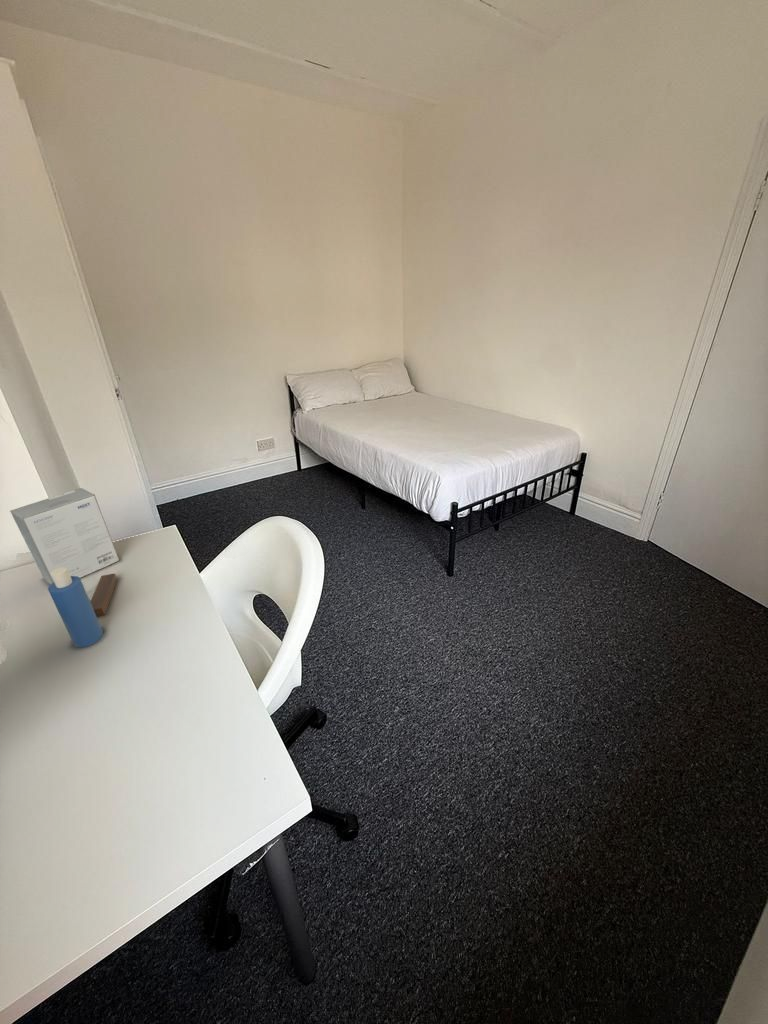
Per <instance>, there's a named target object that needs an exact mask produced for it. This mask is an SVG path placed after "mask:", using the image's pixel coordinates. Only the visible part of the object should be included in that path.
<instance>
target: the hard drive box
mask: <svg viewBox="0 0 768 1024" xmlns="http://www.w3.org/2000/svg"><path fill="white" fill-rule="evenodd" d="M9 513H10V514H11V516H12V518H13V520H14V522H15V524H16V527H17V528H18V530H19V532H20V534H21V537H22V538H23V540H24V542H25V544H26V546H27V549H28V550H29V552H30V554H31V556H32V559H33V561H34V562H35V564H36V566H37V568H38V570H39V572H40V574H41V577H42V578H43V580H44V581H45V582H46V583H47V584H48V585H49V586H50V585H51V584H52V583H53V582H54V581H53V579H52V576H51V574H50V573H51V572H52V571H53V570H55V569H57V568H61V567H65V568H67V570H68V572H69V574H70V576H77V577H79V578H80V579H82V578H83V577H85V576H88V575H90V574H92V573H94V572H97V571H99V570H101V569H104V568H106V567H108V566H110V565H113V564H115V563H117V562H119V561H120V557H119V554H118V553H117V549H116V548H115V545H114V543H113V540H112V537H111V534H110V532H109V530H108V526H107V524H106V521H105V518H104V516H103V513H102V511H101V508H100V505H99V502H98V500H97V497H96V494H95V493H92V492H90V491H88V490H87V489H85V488H83V487H80V488H76V489H73V490H69V491H67V492H63V493H61V494H57V495H54V496H50V497H48V498H45V499H41V500H39V501H36V502H32V503H29V504H26V505H23V506H20V507H17V508H14V509H11V510H9Z"/></svg>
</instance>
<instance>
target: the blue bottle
mask: <svg viewBox="0 0 768 1024" xmlns="http://www.w3.org/2000/svg"><path fill="white" fill-rule="evenodd" d="M50 574H51V576H52V579H53V581H54V582H53V583H52V584H51V585H50V584H49V585H48V587H47V590H48V593H49V595H50V597H51V599H52V602H53V603H54V605H55V607H56V611H57V612H58V614H59V616H60V618H61V620H62V622H63V624H64V627H65V629H66V631H67V633H68V635H69V637H70V639H71V642H72V644H73V646H75V647H76V648H86V647H90V646H93V645H94V644H96V643H97V642H99V641H100V640H101V639H102V638H103V636H104V631H103V629H102V626H101V624H100V622H99V620H98V616H97V617H96V614H95V612H94V610H93V607H92V605H91V603H90V601H91V599H90V598H89V595H88V593H87V591H86V589H85V586H84V584H83V581H82V578H79V577H77V576H70V574H69V572H68V570H67V568H65V567H61V568H57V569H55V570H53V571H52V572H51V573H50Z"/></svg>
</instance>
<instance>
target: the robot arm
mask: <svg viewBox="0 0 768 1024" xmlns="http://www.w3.org/2000/svg"><path fill="white" fill-rule="evenodd" d="M8 627H9V622H8V619H7V618H6V617H0V634H1V633H2V632H4V630H6V629H7V628H8ZM8 654H9V652H8V649H7V647H6V646H5V644H4V642H3V640H2V639H1V638H0V665H1V664H3V663H4V662H5V661H6V660H7V657H8Z"/></svg>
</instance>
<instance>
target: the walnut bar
mask: <svg viewBox="0 0 768 1024" xmlns="http://www.w3.org/2000/svg"><path fill="white" fill-rule="evenodd" d="M116 575H117V574H116V573H110V574H104V575H101V576H100V578H99V580H98V582H97V585H96V587H95V589H94V592H93V595H92V597H91V599H90V603H91V605H92V607H93V610H94V612H95V614H96V617H97V618H98V617H102V616H105V614H106V611H107V609H108V606H109V603H110V601H111V599H112V595H113V592H114V590H115V587H116V585H117V582H118V578H117V576H116Z"/></svg>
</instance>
